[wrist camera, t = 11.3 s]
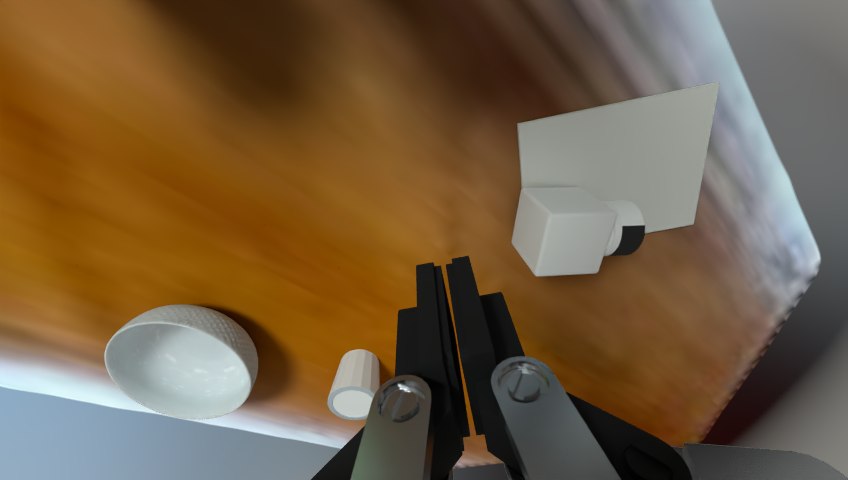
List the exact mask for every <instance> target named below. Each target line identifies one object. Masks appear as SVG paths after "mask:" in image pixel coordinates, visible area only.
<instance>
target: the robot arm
mask: <svg viewBox="0 0 848 480" xmlns="http://www.w3.org/2000/svg"><path fill="white" fill-rule="evenodd" d="M446 269H447V275H448V282H449V288H450V295H451V301H452V308H453V314H454V320H455V327H456V333H457V340H458V346H459V352H460V358H461V363H462V368H463V373H464V378H465V382H466V387H467V392H468V397H469V402H470V406H471V411H472V416H473V421H474V425H475V430H476V435H482V434H485V439H486V444H487V449H488V451H489V452H490V453H492V454H493V455H494V456H496V457H497V458H499V459H500V460H501V461H503V462H504V466H505V470H506V472H507V475H508V478H509V480H848V478H847V477H846V476H845V475H843V474H842V473H841V472H839V471H838V470H836V469H835V468H833V467H832V466H830V465H829V464H828V463H826V462H824V461H821V460H819V459H817V458H815V457H812V456H810V455H807V454H803V453H798V452H793V451H784V450H771V449H758V448H745V447H733V446H721V445H707V444H696V443H684V446H683V447H672V446H670V445H668V444H667V443H665V442H664V441H662V440H660V439H659V438H657V437H655V436H653V435H651V434H649V433H647V432H645V431H643V430H641V429H639V428H637V427H635V426H633V425H631V424H629V423H627V422H625V421H623V420H621V419H619V418H617V417H615V416H613V415H611V414H609V413H607V412H605V411H603V410H601V409H599V408H597V407H595V406H593V405H591V404H589V403H587V402H585V401H583V400H581V399H579V398H577V397H575V396H573V395H571V394H569V393H567V392H565V391H564V389H563V387H562V386H561V384H560V383H559V381H558V380H557V378H556V376H555V375H554V373H553V372H552V371H551V370H550V368H549V367H548V366H547V365H546V364H544V363H542V362H541V361H539V360H537V359H534V358H531V357H525V355H524V352H523V349H522V346H521V344H520V341H519V338H518V335H517V333H516V330H515V327H514V324H513V322H512V319H511V316H510V313H509V311H508V308H507V305H506V302H505V300H504V297H503V294H502V293H501V292H498V293H493V294H487V295H481V296H479V293H478V289H477V285H476V282H475V278H474V274H473V270H472V267H471V263H470V259H469V256H465V257H459V258H454V259H452V264H446ZM416 280H417V307H413V308H408V309H402V310H399V311H398V325H397V345H396V365H395V377H394V378H392V379H390V380H388V381H387V382H385V383H384V384H383V385H381V387H380V388H379V389H378V390H377V391H376V393H375V395H374V397H373V399H372V402H371V406H370V410H369V413H368V417H367V421H366V424H365V426H364V427H363V428H362V429H361V430H360V431H359V432H358V433H357V434H356V435H355V436H354V437H353V438H352V439H351V440H350V441H349V442H348V443H347V444H346V445H345V446H344V447H343V448H342V449H341V450H340V451H339V452H338V453H337V454H336V455H335V456H334V457H333V458H332V459H331V460H330V461H329V462H328V463H327V464H326V465H325V466H324V467H323V468H322V469H321V470H320V471H319V472H318V473H317V474H316V475H315V476H314V477H313V478H312V479H311V480H453V466H454V465H455V464H456V462H457V461H458V460H459V458H460V457H461V456H462V451H464V443H463V437H469V436H470V431H469V424H468V418H467V411H466V404H465V397H464V391H463V384H462V377H461V371H460V364H459V357H458V351H457V344H456V337H455V332H454V327H453V322H452V317H451V312H450V308H449V303H448V298H447V293H446V289H445V284H444V279H443V274H442V270H441V266H435V267H434V263H433V262H432V263H427V264H421V265H417V266H416Z"/></svg>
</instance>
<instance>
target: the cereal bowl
mask: <svg viewBox="0 0 848 480" xmlns="http://www.w3.org/2000/svg"><path fill="white" fill-rule="evenodd" d="M105 364H106V368H107V371H108V373H109V375H110V377H111V378H112V380H113V381H114V382H115V384H116V385H117V386H118V387H119V388H120V389H121V390H122V391H123V392H124V393H125V394H126V395H127V396H129V397H130V398H131V399H133V400H134V401H136V402H138V403H139V404H141V405H143V406H145V407H147V408H149V409H151V410H154V411H156V412H159V413H162V414H165V415H169V416H173V417H178V418H184V419H209V418H215V417H220V416H223V415H226V414H229V413H231V412H233V411H234V410H236V409H237V408H239V407H240V406H241V405H242V404H243V403H244V402H245V401H246V399H247V398H248V396H249V395H250V393H251V390H252V389H253V385H254V383H255V380H256V377H257V370H258V356H257V352H256V348H255V346H254V343H253V342H252V340H251V338H250V337H249V335H248V334H247V333H246V331H245V330H244V329H243V328H242V327H241V326H240V325H239V324H237V323H236V322H235V321H234V320H232V319H231V318H229V317H227V316H226V315H224V314H221V313H220V312H218V311H215V310H213V309H210V308H205V307H201V306H196V305H189V304H188V305H185V304H183V305H179V304H177V305H168V306H163V307H158V308H155V309H152V310H149V311H146V312H145V313H143V314H141V315H139V316H137V317H136V318H134V319H133V320H131V321H130V322H128V323H127V324H126V325H125V326H123V327H122V328H121V329H120V330H118V331H117V332H116V333H115V334H114V335H113V337H112V338H111V339H110V341H109V342H108V344H107V347H106V349H105Z"/></svg>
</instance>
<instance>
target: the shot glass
mask: <svg viewBox="0 0 848 480" xmlns="http://www.w3.org/2000/svg"><path fill="white" fill-rule="evenodd" d="M379 388H380V386H379V361H378V358H377V357H376V356H375V355H374V354H373V353H372V352H369V351H367V350H360V349H357V350H352V351H349V352H348V353H346V354H345V355H344V356H343V358H342V359H341V362H340V365H339V368H338V371H337V374H336V377H335V379H334V382H333V385H332V388H331V391H330V394H329V397H328V407H329V408H330V410H331V412H333V413H334V414H335V415H337V416H338V417H341V418H344V419H347V420H361V419H366V418H367V417H368V413H369V410H370V406H371V402H372V399H373V397H374V395H375V393H376V391H377V390H378V389H379Z"/></svg>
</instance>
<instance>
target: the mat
mask: <svg viewBox="0 0 848 480" xmlns="http://www.w3.org/2000/svg"><path fill="white" fill-rule="evenodd" d="M719 84H720V83H719V82H714V83H709V84H704V85H699V86H695V87H690V88H685V89H680V90H675V91H671V92H666V93H661V94H656V95H651V96H646V97H642V98H637V99H632V100H627V101H622V102H618V103H613V104H608V105H603V106H598V107H593V108H589V109H584V110H579V111H574V112H569V113H565V114H560V115H555V116H550V117H545V118H540V119H536V120H531V121H526V122H521V123H517V131H518V145H519V159H520V174H521V188H522V189H523V188H555V187H580V188H582V189H583V190H585V191H586V192H588V193H589V194H591V195H592V196H593V197H595V198H596V199H598V200H599V201H616V200H626V201H630V202H632V203H634V204H635V205H636V206H637V207H638V208H639V209H640V211H641V213H642V215H643V217H644V221H645V233H649V232H655V231H660V230H666V229H671V228H677V227H682V226H688V225H693V224H694V219H695V214H696V208H697V203H698V197H699V192H700V187H701V181H702V176H703V170H704V165H705V160H706V154H707V149H708V143H709V138H710V133H711V127H712V122H713V116H714V111H715V105H716V100H717V95H718V89H719Z"/></svg>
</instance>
